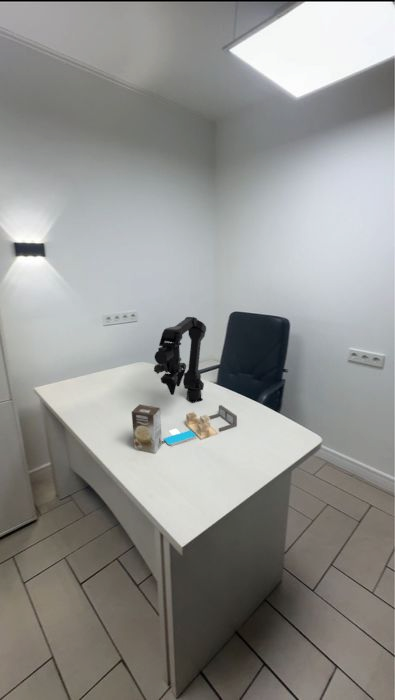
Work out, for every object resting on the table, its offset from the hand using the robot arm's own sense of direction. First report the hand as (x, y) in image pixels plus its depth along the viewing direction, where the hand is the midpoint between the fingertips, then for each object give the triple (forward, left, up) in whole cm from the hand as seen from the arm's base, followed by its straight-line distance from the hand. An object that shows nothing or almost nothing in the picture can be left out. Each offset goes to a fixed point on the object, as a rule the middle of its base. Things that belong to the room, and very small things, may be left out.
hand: (175, 390), depth 138 cm
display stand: (-4, +16, -13) cm, 21 cm away
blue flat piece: (+7, +16, -14) cm, 22 cm away
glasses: (-14, +16, -13) cm, 25 cm away
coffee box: (+20, +17, -13) cm, 29 cm away
